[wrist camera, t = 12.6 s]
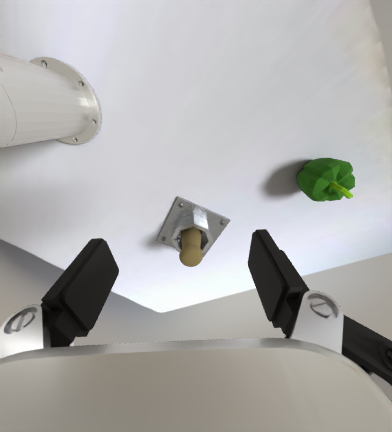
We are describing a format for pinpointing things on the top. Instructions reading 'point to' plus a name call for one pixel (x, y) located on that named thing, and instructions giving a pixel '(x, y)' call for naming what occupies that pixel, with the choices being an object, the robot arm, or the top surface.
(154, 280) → the top surface
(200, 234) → the cork
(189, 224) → the duct collar
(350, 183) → the bell pepper
